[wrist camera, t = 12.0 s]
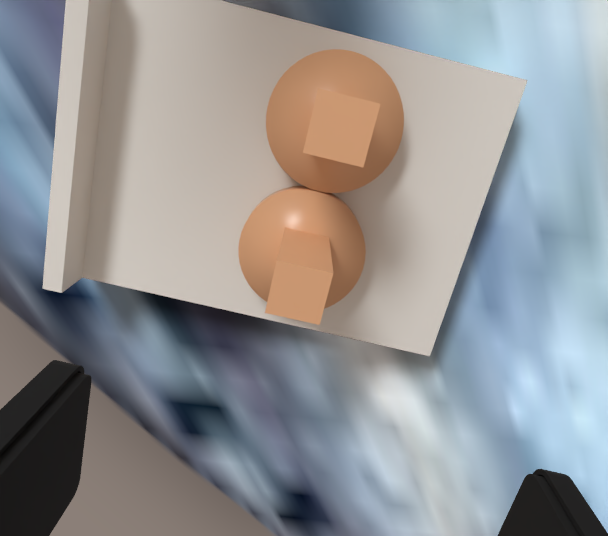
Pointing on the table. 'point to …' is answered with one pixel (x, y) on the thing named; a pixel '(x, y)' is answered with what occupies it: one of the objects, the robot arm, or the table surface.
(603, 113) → the table surface
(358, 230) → the dome with square post
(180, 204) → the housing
